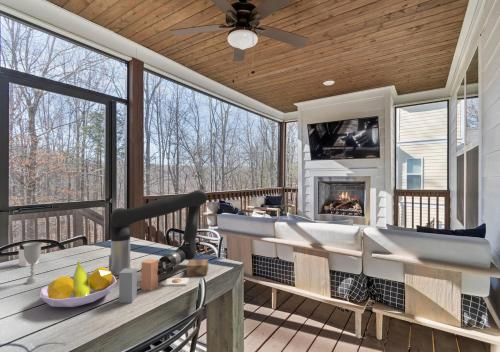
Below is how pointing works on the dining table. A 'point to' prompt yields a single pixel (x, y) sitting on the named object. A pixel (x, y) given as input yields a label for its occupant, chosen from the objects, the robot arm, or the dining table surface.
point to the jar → (21, 256)
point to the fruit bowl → (78, 288)
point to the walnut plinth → (197, 267)
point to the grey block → (127, 285)
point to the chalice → (32, 258)
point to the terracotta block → (149, 274)
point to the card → (176, 282)
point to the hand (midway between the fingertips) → (149, 272)
